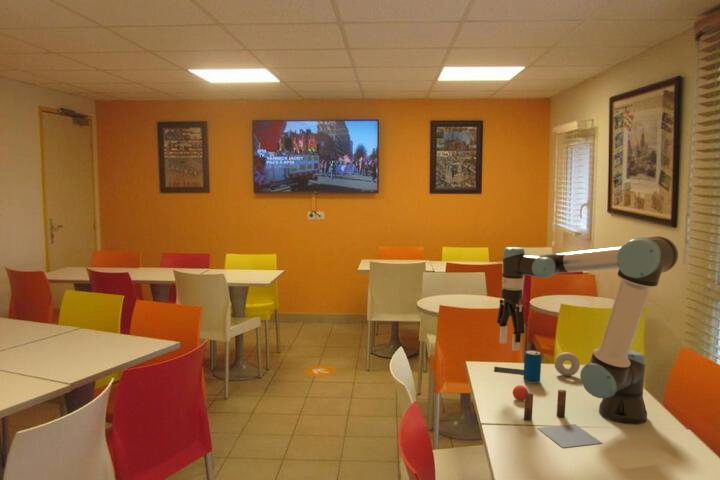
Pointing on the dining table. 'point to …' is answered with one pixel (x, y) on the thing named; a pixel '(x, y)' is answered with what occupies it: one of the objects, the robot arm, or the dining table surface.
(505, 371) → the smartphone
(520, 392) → the ball
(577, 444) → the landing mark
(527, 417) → the post left
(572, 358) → the donut
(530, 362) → the beverage can
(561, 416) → the post right
